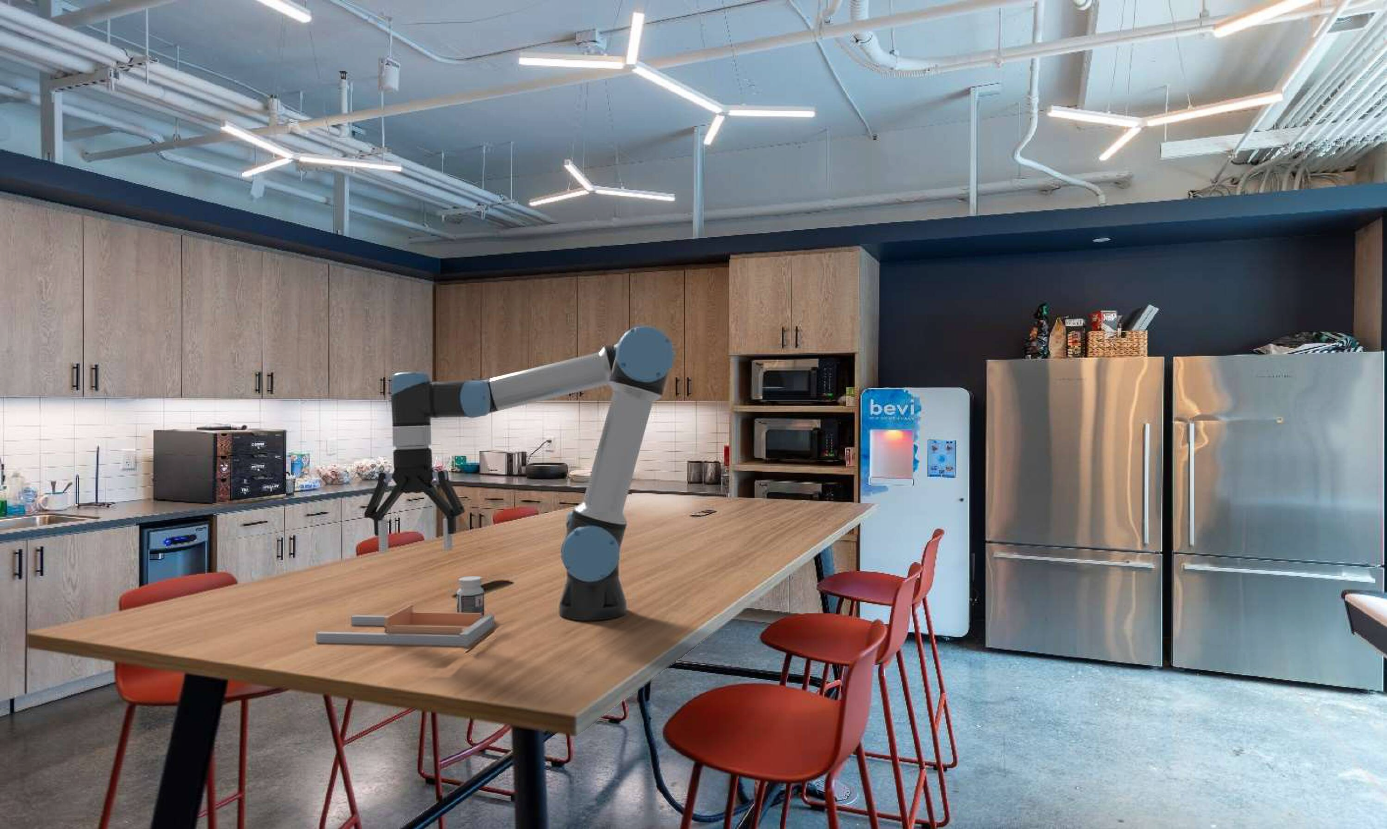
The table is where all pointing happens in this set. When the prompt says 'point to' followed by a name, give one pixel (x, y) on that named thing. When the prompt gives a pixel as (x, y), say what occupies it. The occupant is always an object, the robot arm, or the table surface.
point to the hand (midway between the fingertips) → (415, 551)
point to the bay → (408, 639)
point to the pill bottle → (470, 595)
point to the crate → (429, 622)
